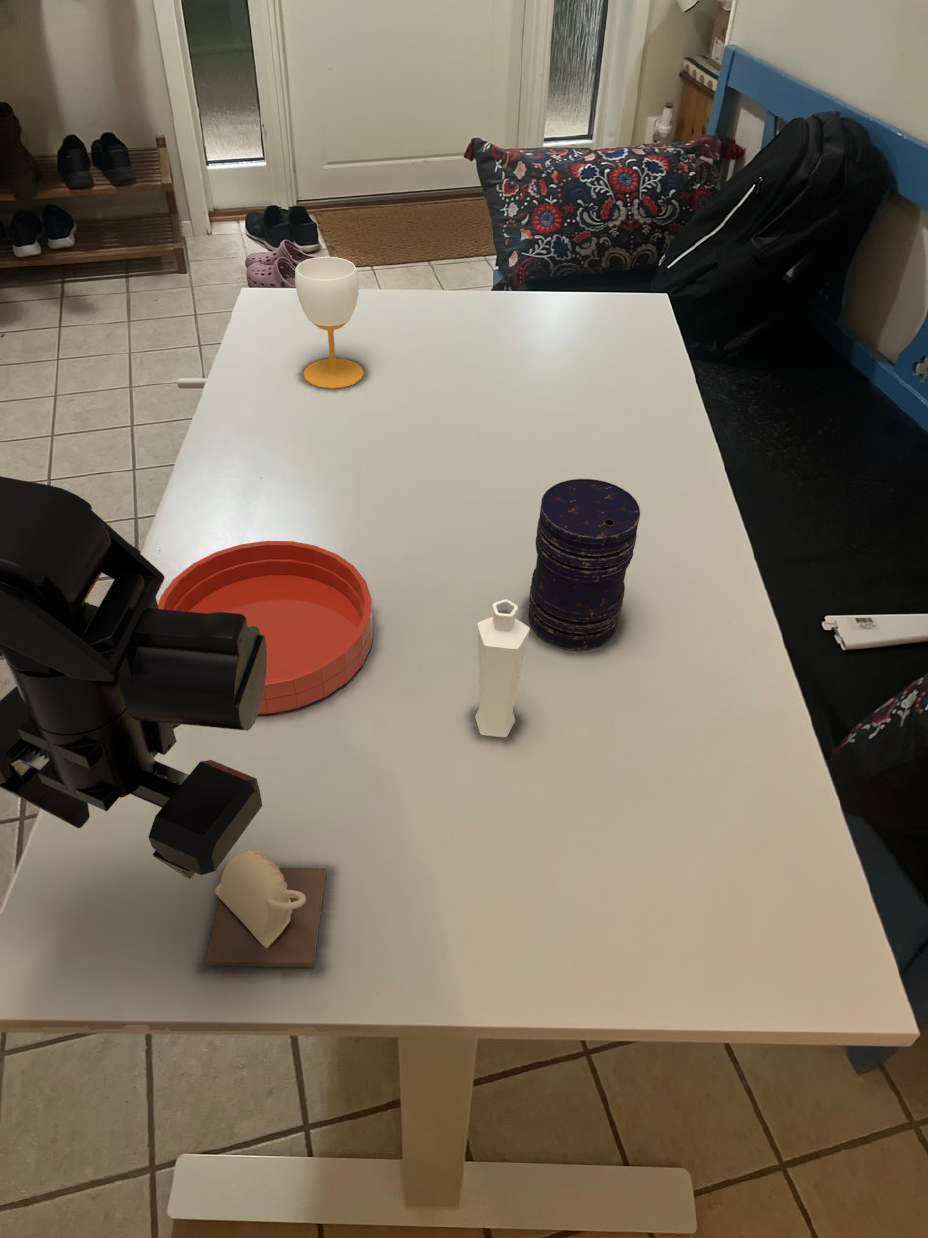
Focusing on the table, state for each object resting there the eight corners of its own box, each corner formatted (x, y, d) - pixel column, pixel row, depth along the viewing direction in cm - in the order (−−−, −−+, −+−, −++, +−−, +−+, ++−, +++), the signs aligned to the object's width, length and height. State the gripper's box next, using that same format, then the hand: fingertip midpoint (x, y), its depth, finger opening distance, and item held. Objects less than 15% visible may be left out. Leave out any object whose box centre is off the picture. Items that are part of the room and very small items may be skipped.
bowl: (366, 717, 85) (364, 685, 82) (140, 716, 84) (130, 684, 81) (377, 573, 101) (376, 542, 98) (187, 570, 100) (180, 539, 97)
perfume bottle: (524, 737, 84) (539, 623, 74) (479, 744, 83) (487, 629, 73) (513, 701, 87) (525, 587, 77) (469, 707, 87) (476, 592, 76)
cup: (335, 354, 139) (327, 250, 128) (376, 373, 135) (372, 268, 124) (290, 374, 134) (279, 267, 123) (332, 395, 129) (324, 287, 118)
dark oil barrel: (509, 607, 97) (519, 495, 87) (579, 578, 101) (597, 467, 91) (564, 664, 91) (582, 550, 81) (636, 630, 95) (663, 518, 85)
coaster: (207, 966, 67) (205, 961, 66) (228, 871, 73) (226, 866, 72) (313, 968, 67) (312, 963, 67) (325, 873, 73) (325, 868, 72)
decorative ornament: (256, 859, 73) (247, 822, 69) (319, 929, 69) (313, 893, 65) (213, 890, 71) (202, 854, 67) (275, 964, 66) (267, 929, 63)
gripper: (298, 656, 54) (315, 806, 64) (51, 566, 58) (105, 720, 69) (186, 795, 46) (226, 939, 57) (-88, 678, 51) (-3, 832, 61)
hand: (137, 846), depth 61 cm, fingers open, 9 cm apart
